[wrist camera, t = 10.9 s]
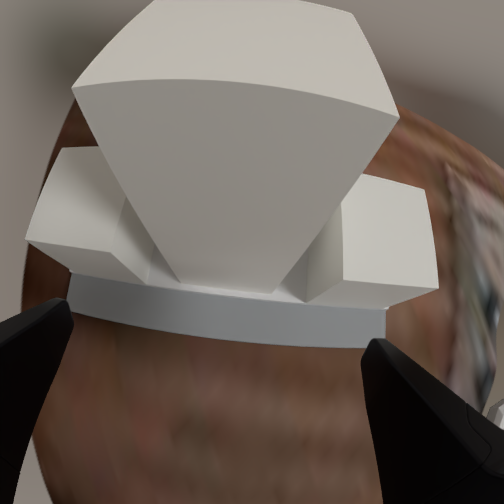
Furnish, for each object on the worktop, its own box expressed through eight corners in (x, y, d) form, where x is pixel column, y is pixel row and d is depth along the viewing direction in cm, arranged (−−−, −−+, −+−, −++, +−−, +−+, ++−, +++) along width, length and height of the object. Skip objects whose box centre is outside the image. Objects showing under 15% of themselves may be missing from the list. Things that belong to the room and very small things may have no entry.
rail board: (378, 348, 16) (447, 340, 10) (70, 311, 15) (5, 287, 9) (374, 208, 20) (421, 156, 13) (107, 177, 19) (73, 116, 12)
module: (271, 294, 16) (399, 117, 3) (181, 283, 15) (70, 87, 3) (276, 218, 17) (351, 11, 5) (195, 209, 17) (163, -7, 5)
